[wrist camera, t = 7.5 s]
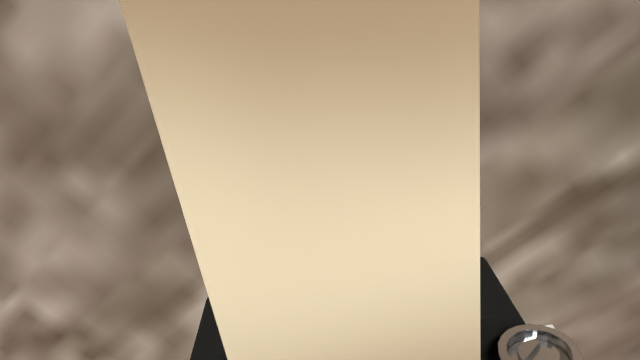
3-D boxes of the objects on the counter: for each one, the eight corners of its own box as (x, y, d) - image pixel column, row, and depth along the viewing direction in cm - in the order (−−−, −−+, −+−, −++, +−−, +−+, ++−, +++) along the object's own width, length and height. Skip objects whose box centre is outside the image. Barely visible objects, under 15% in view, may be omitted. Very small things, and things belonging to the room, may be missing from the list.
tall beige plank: (91, -13, 9) (-101, 21, 5) (507, -79, 9) (708, -107, 5) (250, 480, 16) (230, 693, 11) (497, 447, 16) (578, 651, 11)
